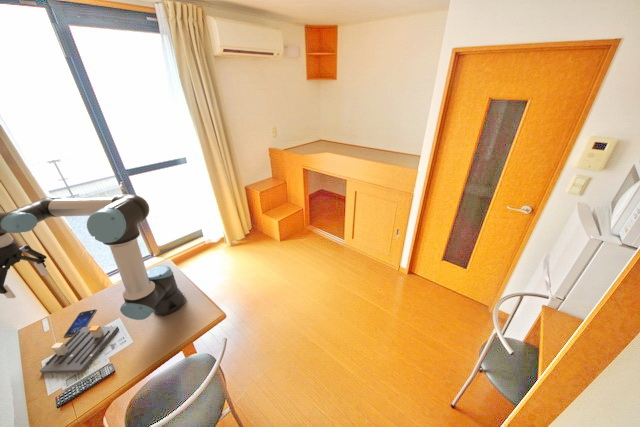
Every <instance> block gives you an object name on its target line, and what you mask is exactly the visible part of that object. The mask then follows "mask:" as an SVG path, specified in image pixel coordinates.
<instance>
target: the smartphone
mask: <svg viewBox="0 0 640 427" xmlns="http://www.w3.org/2000/svg"><path fill="white" fill-rule="evenodd" d="M96 313H97V309H96V308H95V309H90V310H89V309H88V310H86V311H82V312H80V313H78V315H77V316H76V317H75V319H73V320H74V321H73V322H72V323H71V325H70V327H68V329H67V330H66V332H65V333H64V335H63V338H70V337H72V336H73V335H74V334H75V333H76V332H77V331H79V330H80V329H81V328H82V327H89V324H90V323H91V321H92V319H93V317H94V316H95V314H96Z"/></svg>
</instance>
